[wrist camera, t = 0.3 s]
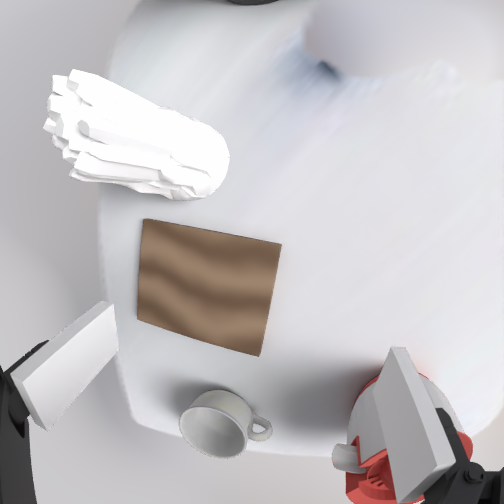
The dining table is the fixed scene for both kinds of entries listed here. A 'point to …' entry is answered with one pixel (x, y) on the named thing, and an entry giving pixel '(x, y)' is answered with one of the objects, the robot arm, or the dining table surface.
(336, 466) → the citrus juicer
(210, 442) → the teacup
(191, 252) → the board
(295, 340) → the dining table surface
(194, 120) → the decorative vase
